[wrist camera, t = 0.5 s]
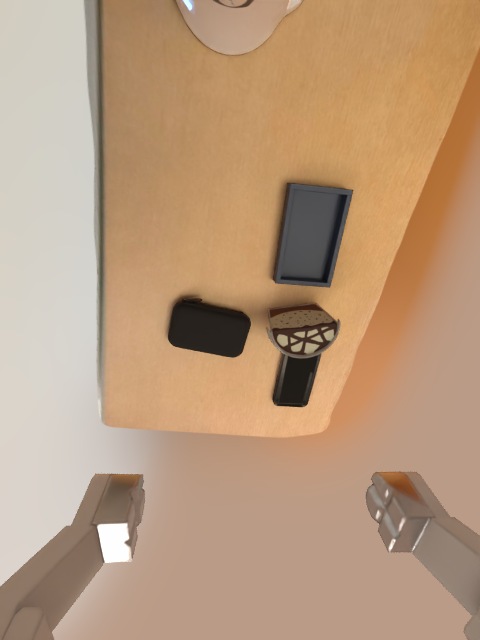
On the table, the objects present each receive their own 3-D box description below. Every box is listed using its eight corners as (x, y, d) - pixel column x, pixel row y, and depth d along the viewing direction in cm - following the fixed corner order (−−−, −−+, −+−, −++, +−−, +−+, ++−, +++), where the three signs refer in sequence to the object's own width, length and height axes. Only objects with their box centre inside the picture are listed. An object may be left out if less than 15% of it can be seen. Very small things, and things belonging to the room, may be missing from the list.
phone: (272, 405, 65) (285, 346, 58) (271, 402, 66) (284, 344, 60) (307, 407, 66) (323, 349, 59) (305, 404, 67) (321, 347, 60)
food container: (262, 337, 59) (270, 365, 50) (260, 309, 56) (268, 333, 47) (322, 330, 59) (341, 356, 50) (323, 302, 56) (343, 324, 47)
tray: (287, 183, 47) (290, 183, 45) (347, 189, 48) (353, 190, 46) (272, 279, 54) (275, 283, 51) (325, 283, 55) (330, 287, 52)
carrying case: (254, 307, 56) (177, 290, 53) (255, 314, 53) (174, 296, 51) (239, 354, 60) (167, 340, 58) (240, 362, 57) (165, 348, 55)
